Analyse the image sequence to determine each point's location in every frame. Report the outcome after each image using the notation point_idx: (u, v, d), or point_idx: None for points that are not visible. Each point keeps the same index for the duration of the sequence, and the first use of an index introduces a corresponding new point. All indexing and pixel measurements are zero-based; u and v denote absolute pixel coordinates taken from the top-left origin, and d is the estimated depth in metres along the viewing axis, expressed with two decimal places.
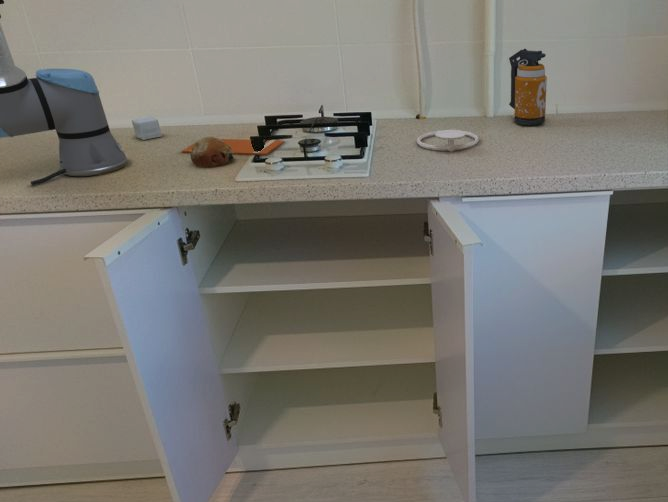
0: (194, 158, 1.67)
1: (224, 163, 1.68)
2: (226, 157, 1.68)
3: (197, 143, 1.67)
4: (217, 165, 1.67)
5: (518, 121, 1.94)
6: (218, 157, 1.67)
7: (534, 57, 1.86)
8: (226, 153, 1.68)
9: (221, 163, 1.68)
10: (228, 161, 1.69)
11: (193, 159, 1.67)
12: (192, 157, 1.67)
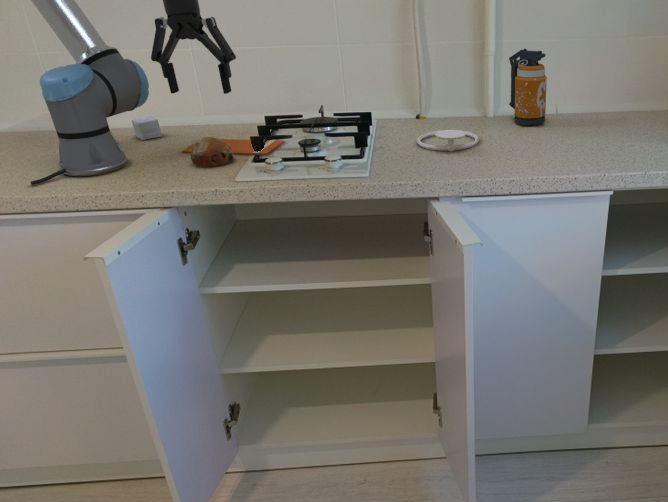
0: (194, 158, 1.67)
1: (224, 163, 1.68)
2: (226, 157, 1.68)
3: (197, 143, 1.67)
4: (217, 165, 1.67)
5: (518, 121, 1.94)
6: (218, 157, 1.66)
7: (534, 57, 1.86)
8: (226, 153, 1.68)
9: (221, 163, 1.68)
10: (228, 161, 1.69)
11: (193, 159, 1.67)
12: (192, 157, 1.67)
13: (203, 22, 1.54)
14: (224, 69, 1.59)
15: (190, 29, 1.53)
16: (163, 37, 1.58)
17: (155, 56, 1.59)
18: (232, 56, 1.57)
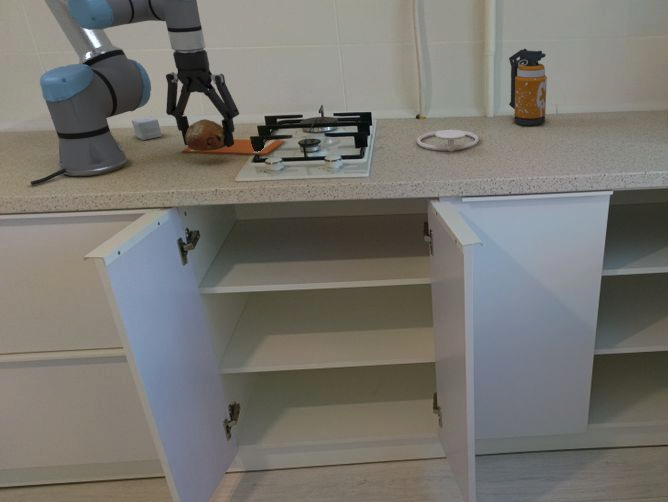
0: (189, 141, 1.65)
1: (219, 146, 1.66)
2: (221, 140, 1.66)
3: (192, 126, 1.65)
4: (212, 148, 1.65)
5: (518, 121, 1.94)
6: (213, 140, 1.64)
7: (534, 57, 1.86)
8: (221, 136, 1.66)
9: (216, 147, 1.65)
10: (223, 144, 1.67)
11: (188, 142, 1.65)
12: (187, 140, 1.65)
13: (212, 78, 1.59)
14: (227, 124, 1.65)
15: (199, 83, 1.59)
16: (176, 91, 1.63)
17: (170, 110, 1.64)
18: (235, 113, 1.63)
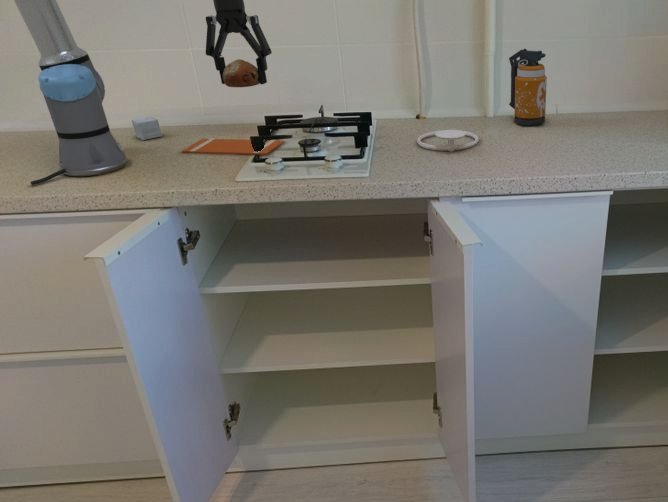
0: (226, 78, 1.81)
1: (254, 83, 1.82)
2: (256, 78, 1.82)
3: (229, 64, 1.81)
4: (247, 85, 1.81)
5: (518, 121, 1.94)
6: (249, 77, 1.80)
7: (534, 57, 1.86)
8: (256, 74, 1.82)
9: (251, 83, 1.81)
10: (257, 82, 1.83)
11: (225, 79, 1.81)
12: (224, 78, 1.81)
13: (247, 19, 1.75)
14: (261, 63, 1.81)
15: (236, 24, 1.75)
16: (214, 33, 1.80)
17: (209, 51, 1.81)
18: (268, 51, 1.79)
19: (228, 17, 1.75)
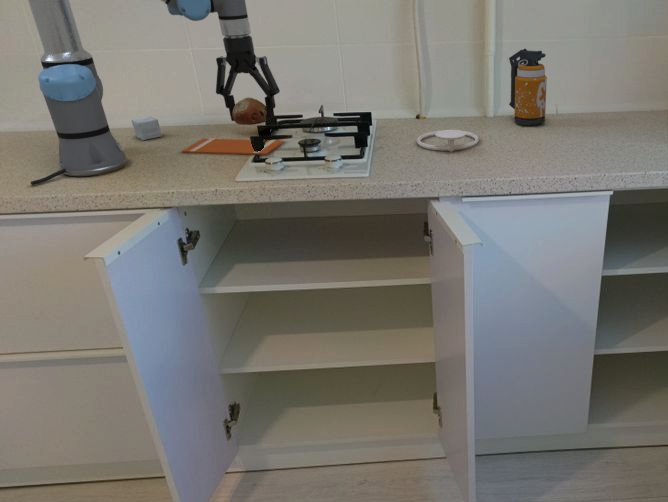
0: (236, 116, 1.88)
1: (262, 121, 1.89)
2: (264, 115, 1.88)
3: (238, 103, 1.87)
4: (256, 122, 1.88)
5: (518, 121, 1.94)
6: (257, 115, 1.87)
7: (534, 57, 1.86)
8: (264, 112, 1.88)
9: (260, 121, 1.88)
10: None
11: (235, 117, 1.88)
12: (234, 115, 1.88)
13: (256, 60, 1.82)
14: (269, 101, 1.87)
15: (245, 65, 1.82)
16: (224, 73, 1.86)
17: (219, 89, 1.87)
18: (277, 91, 1.86)
19: (238, 58, 1.82)
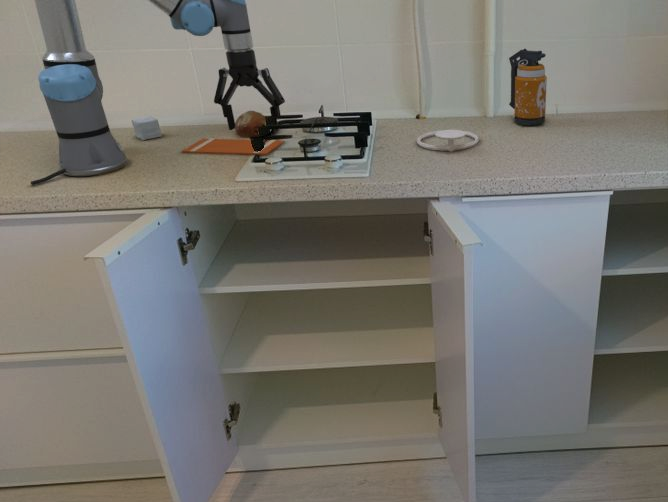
0: (238, 129, 1.89)
1: None
2: None
3: (241, 116, 1.89)
4: (258, 135, 1.90)
5: (518, 121, 1.94)
6: None
7: (534, 57, 1.86)
8: None
9: None
10: None
11: (237, 130, 1.90)
12: (236, 128, 1.90)
13: (259, 72, 1.84)
14: (274, 111, 1.88)
15: (248, 78, 1.83)
16: (224, 84, 1.88)
17: (217, 99, 1.89)
18: (282, 100, 1.87)
19: (240, 72, 1.84)
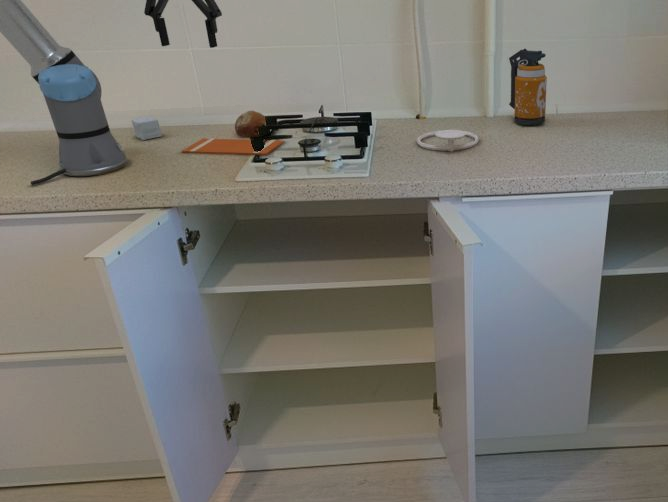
0: (238, 129, 1.89)
1: None
2: None
3: (241, 116, 1.89)
4: (258, 135, 1.90)
5: (518, 121, 1.94)
6: None
7: (534, 57, 1.86)
8: None
9: None
10: None
11: (237, 130, 1.90)
12: (236, 128, 1.90)
13: None
14: (210, 25, 1.73)
15: None
16: None
17: (148, 10, 1.73)
18: (218, 12, 1.71)
19: None
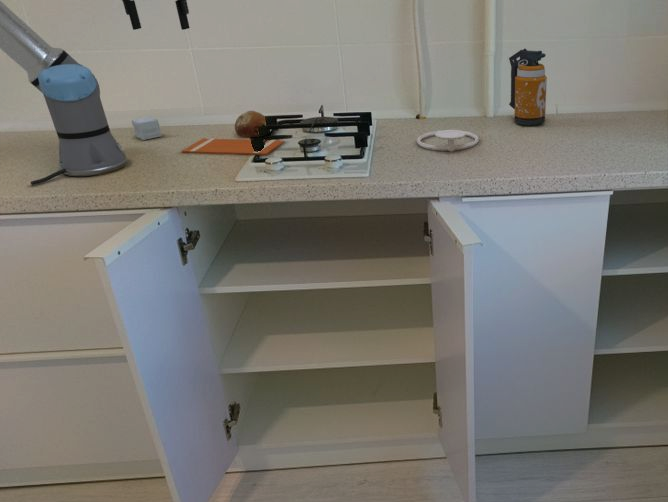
0: (238, 129, 1.89)
1: None
2: None
3: (241, 116, 1.89)
4: (258, 135, 1.90)
5: (518, 121, 1.94)
6: None
7: (534, 57, 1.86)
8: None
9: None
10: None
11: (237, 130, 1.90)
12: (236, 128, 1.90)
13: None
14: (181, 6, 1.68)
15: None
16: None
17: None
18: None
19: None
